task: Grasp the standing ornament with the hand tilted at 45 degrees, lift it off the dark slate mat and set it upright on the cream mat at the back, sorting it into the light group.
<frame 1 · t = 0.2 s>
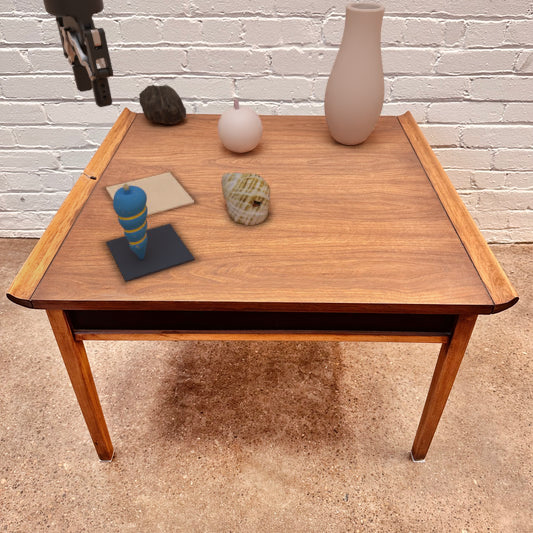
hand: (94, 97, 72), 25 cm above the table, tool pointing down, fingers open, 8 cm apart
rock: (165, 121, 128), on the table
slate mat: (149, 251, 83), on the table
cream mat: (149, 195, 98), on the table
seashell: (246, 210, 94), on the table
ornament: (141, 260, 81), resting on slate mat
ornament 2: (240, 150, 115), on the table
vase: (348, 141, 119), on the table
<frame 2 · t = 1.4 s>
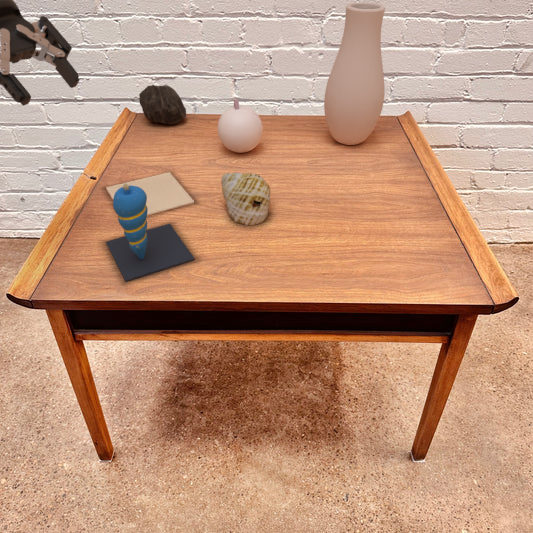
hand: (52, 92, 69), 26 cm above the table, tool tilted 45°, fingers open, 8 cm apart
nothing on the table moved.
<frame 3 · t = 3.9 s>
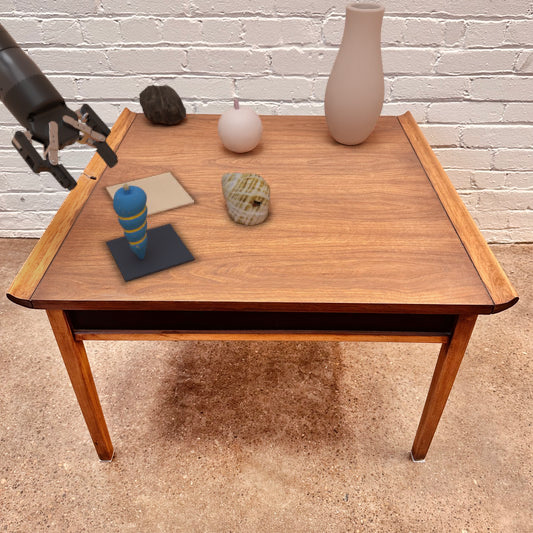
hand: (95, 176, 75), 14 cm above the table, tool tilted 45°, fingers open, 8 cm apart
nothing on the table moved.
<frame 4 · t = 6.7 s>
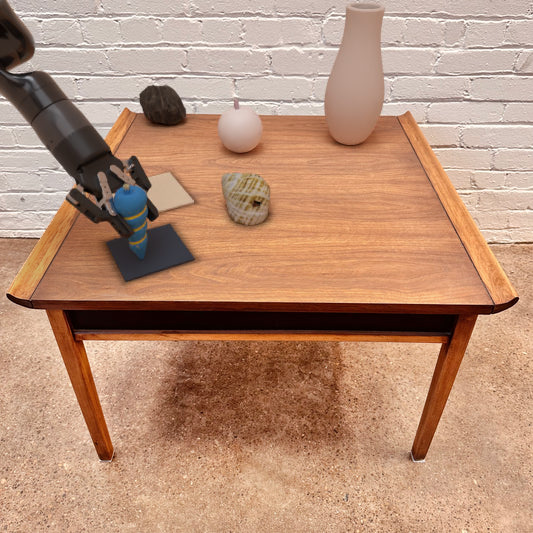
hand: (143, 227, 76), 8 cm above the table, tool tilted 45°, fingers closed on ornament, 5 cm apart
ornament: (141, 260, 81), resting on slate mat, touching gripper
everything else where it was.
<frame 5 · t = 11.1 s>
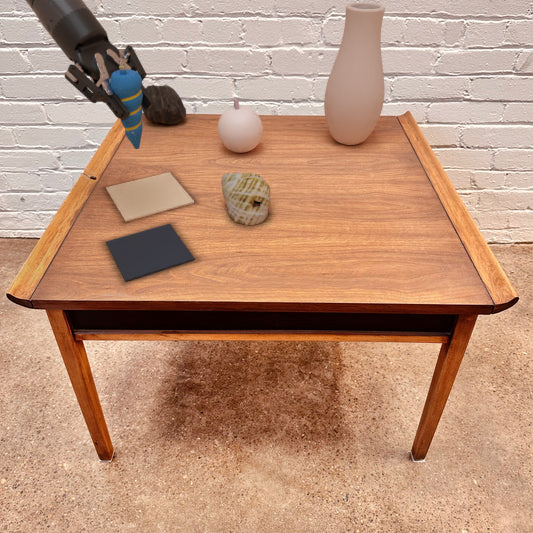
hand: (138, 111, 80), 20 cm above the table, tool tilted 45°, fingers closed on ornament, 5 cm apart
ornament: (137, 150, 85), point 13 cm above the table, touching gripper
everything else where it was.
when the fingers open (8 cm above the table, at t = 15.7 s): ornament stays where it is, resting on cream mat.
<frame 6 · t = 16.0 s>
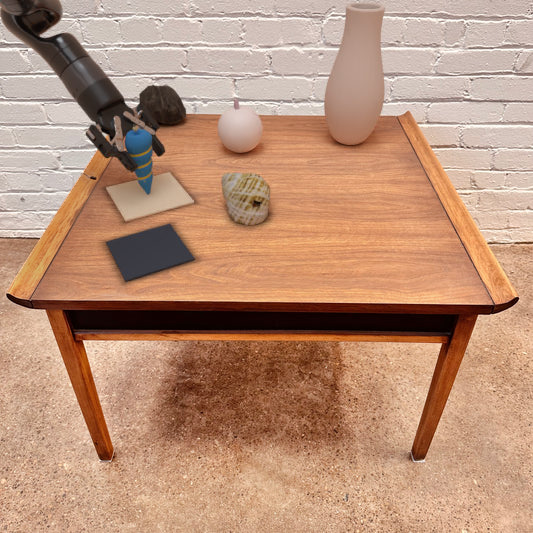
hand: (149, 161, 92), 8 cm above the table, tool tilted 45°, fingers open, 7 cm apart
ornament: (148, 195, 98), resting on cream mat
everything else where it was.
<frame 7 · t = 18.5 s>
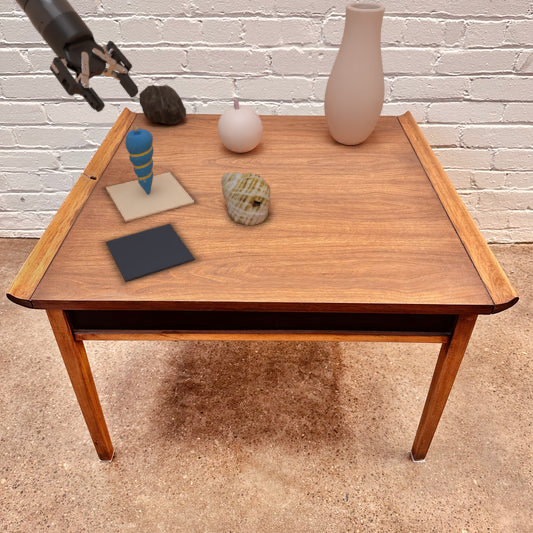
hand: (119, 101, 87), 19 cm above the table, tool tilted 45°, fingers open, 8 cm apart
nothing on the table moved.
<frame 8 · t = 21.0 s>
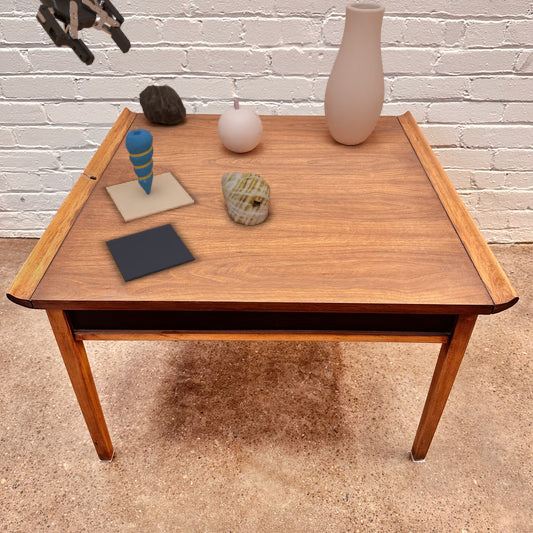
hand: (110, 56, 82), 27 cm above the table, tool tilted 45°, fingers open, 8 cm apart
nothing on the table moved.
at the end: ornament inside the target area on the cream mat (0.2 cm from its centre), point 0.2 cm above the cream mat's base; ornament tilted 0°; the gripper is holding nothing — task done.
